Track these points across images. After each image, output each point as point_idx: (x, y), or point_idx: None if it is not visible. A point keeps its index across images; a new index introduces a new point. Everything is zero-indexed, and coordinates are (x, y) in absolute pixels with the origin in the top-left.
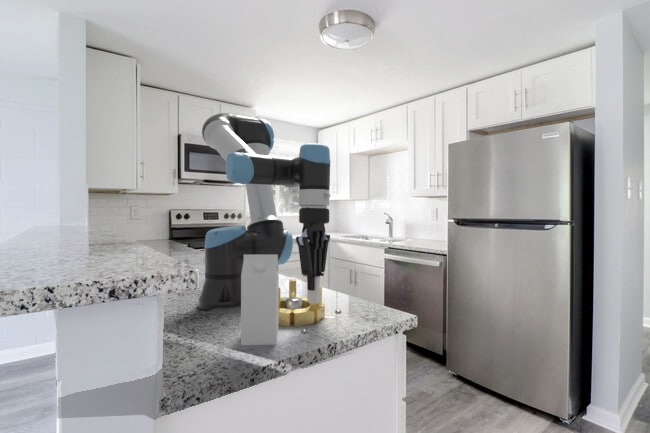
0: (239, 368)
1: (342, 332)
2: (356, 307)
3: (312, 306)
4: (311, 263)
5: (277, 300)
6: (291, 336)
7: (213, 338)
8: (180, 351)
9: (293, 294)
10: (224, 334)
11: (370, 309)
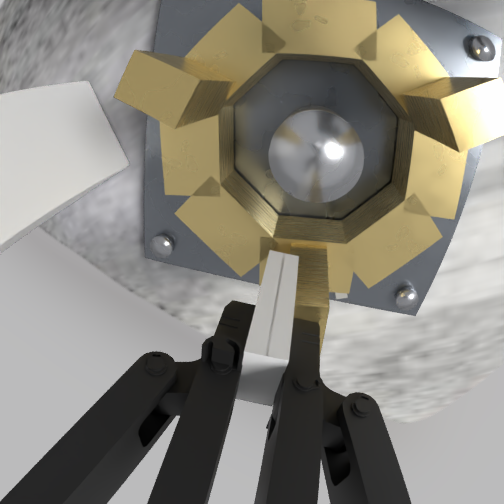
0: None
1: None
2: (501, 315)
3: None
4: (135, 462)
5: (7, 245)
6: None
7: (63, 8)
8: (2, 24)
9: (418, 118)
10: (92, 5)
11: (478, 351)
